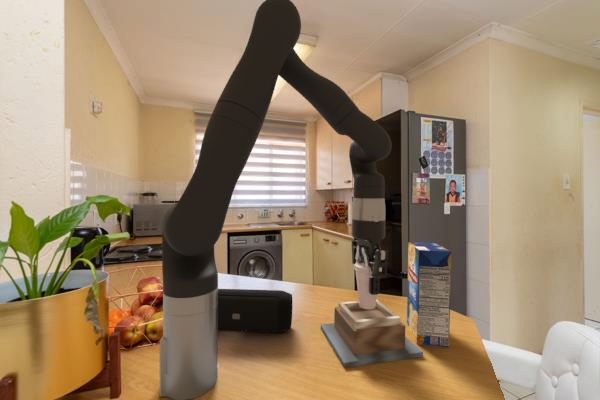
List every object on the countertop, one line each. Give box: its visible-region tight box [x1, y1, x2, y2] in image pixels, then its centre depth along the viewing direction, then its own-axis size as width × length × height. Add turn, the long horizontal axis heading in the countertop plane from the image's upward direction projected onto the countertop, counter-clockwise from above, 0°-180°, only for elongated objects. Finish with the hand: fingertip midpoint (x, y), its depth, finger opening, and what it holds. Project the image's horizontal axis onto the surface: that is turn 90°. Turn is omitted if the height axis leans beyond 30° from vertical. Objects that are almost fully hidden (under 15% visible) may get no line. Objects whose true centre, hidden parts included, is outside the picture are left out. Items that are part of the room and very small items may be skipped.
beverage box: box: [406, 241, 452, 349], centre depth 66 cm, size 7×11×22 cm, turn 170°
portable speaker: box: [218, 288, 293, 334], centre depth 68 cm, size 26×10×10 cm, turn 87°
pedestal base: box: [320, 299, 424, 368], centre depth 63 cm, size 18×16×8 cm
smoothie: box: [353, 262, 382, 309], centre depth 63 cm, size 6×6×14 cm
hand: (367, 288), depth 63 cm, fingers closed on smoothie, 6 cm apart
